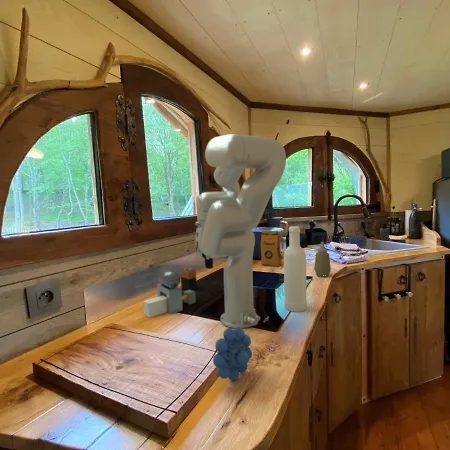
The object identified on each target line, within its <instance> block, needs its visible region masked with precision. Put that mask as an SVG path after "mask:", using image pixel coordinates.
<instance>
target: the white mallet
mask: <svg viewBox="0 0 450 450" xmlns="http://www.w3.org/2000/svg"><path fill="white" fill-rule="evenodd" d="M182 293H183V295H182V301H183V303H186V304H187V305H192V304H195V303H196V301H197V300H196V298H197V297H196V291H195V290H184V291H183V290H182ZM143 312H144V313H143V315H145V316H146V317H148V318H152V317H155V316H159V315H161V314H164V313H168V312H167V297H166V296H164V295H163V296H159V297H158V296H156V297H152V298H149V299H146V300H143Z"/></svg>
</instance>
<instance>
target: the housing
mask: <svg viewBox="0 0 450 450" xmlns="http://www.w3.org/2000/svg"><path fill="white" fill-rule="evenodd" d="M157 280H158V283H156V284H157V285H156V288H157V289H156V291H157V297H159V296H163V295H164V296H166V297H167V312H166V313H168V314H170V315H172V314H176V313H178V312H182V311H183V300H182V296H183V289H182V287H181V285H180V284H181V275H179V273H176V272H174V271H171V270H169V269H166V268H163V269H161V270H159V271H158V274H157ZM179 285H180V286H179Z"/></svg>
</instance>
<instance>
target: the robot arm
mask: <svg viewBox="0 0 450 450" xmlns="http://www.w3.org/2000/svg"><path fill="white" fill-rule="evenodd" d="M284 147H285V146H284V145H283V144H282V143H281V142H280V141H278V140H276V139H274V138H271V137H267V136H258V135H245V134H233V133H230V134H224V135H219V136H214V137H213V138H212V139H210V140H209V141H208V143H207V145H206V148H205V153H204V157H205V161H206V163H207V165H209V166H210V167H212V168H213V167H214V168H215V169H214V171H213V179H214V181H215V182H216V184H217V185H218V186H220V187H221V188H223V189H226V191H205V192H204V191H203V192H201V193H200V194H198V195H197V196H196V199H195V201H196V202H195V204H196V216H197V217H196V221H195V222H194V225H195V226H196V227H197V228H196V230H195V241H194V242H195V244H194V245H195V251H196V256H201V257H202V258H203V259H204V267H205V269H208V270H209V269H213V268H214V259H217V258H225V257H228V258H227V259H226V261H225V264H224V266H223V289H224V290H223V294H224V312H223V313H222V314H221V316H220V322H221V324H222V325H223V326H225V327H227V328H231V329H235V328H236V327H241V328H242V329H247V328H251V327H253V326H257V325H258V322H259V321H260V320H261V316H260V315H258V314H257V313H256V308H254V284H253V283H254V282H253V281H254V279H253V277H254V275H253V274H254V273H253V262H254V261H253V258H254V257H253V256H254V250H255V246H256V245H255V243H256V237H255V233H254V231H253V230H255V228H257V226H258V225H259V223H260V221H261V219H262V217H263V215H264V212H265V209H266V207H267V206H268V203H269V200H270V198H271V196H272V194H273V192H274V190H276V188H277V185H279V183H280V181H281V179H282V177H283V176H284V175H283V174H284V171H285V168H286V162H287V154H286V149H285V148H284ZM245 169H255V171H254V172H253V173H252V174H251V175H249V176H248V177H247V178H246V180H245V181H244V182H243V184H242V185H241V188H240V184H239V180H240V178H241V176H242V174H243V173H244V171H245Z"/></svg>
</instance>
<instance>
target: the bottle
mask: <svg viewBox="0 0 450 450" xmlns="http://www.w3.org/2000/svg"><path fill="white" fill-rule="evenodd" d="M300 229H301V228H300V226H297V225H296V226H289V228H288V232H289V233H288V234H289V237H288V240H289V244H288V245H289V246H287V248H286V249H284V253H283V274H284V276H283V282H284V283H283V284H284V285H283V286H284V287H283V289H284V292H283V293H284V300H283V302H284V303H283V304H284V308H285V309H286V310H287V311H288V312H289V311H290V312H294V313H300V312H305V311H306V310H307V304H308V303H307V302H308V300H307V254H306V251H305V249H303V247H301V245H300V244H301V243H300V242H301V239H300V238H301V237H300V234H301V230H300Z"/></svg>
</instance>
